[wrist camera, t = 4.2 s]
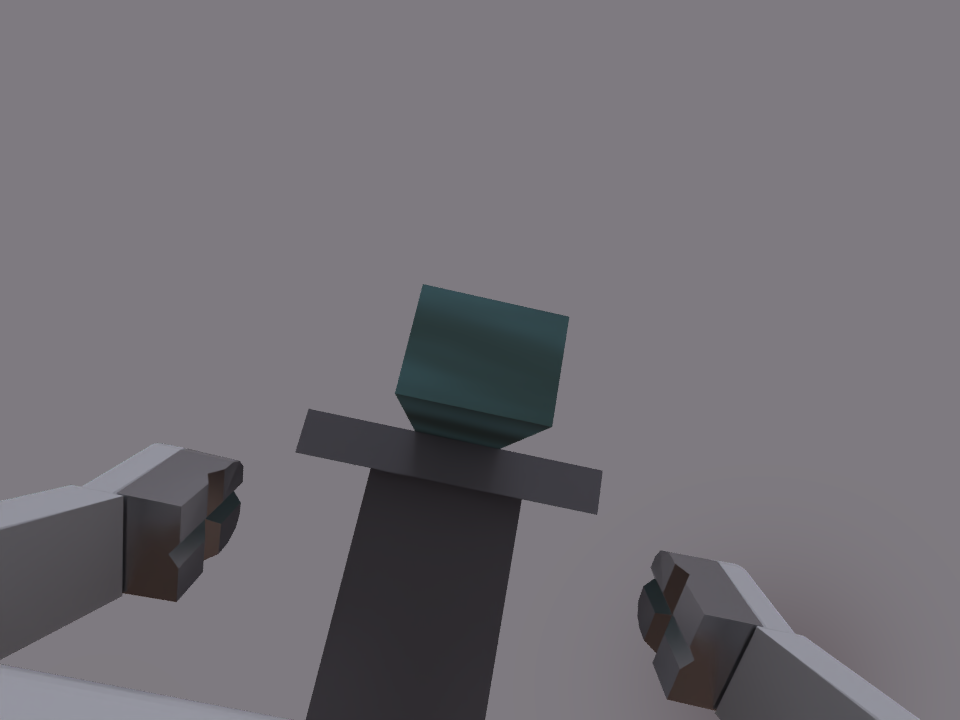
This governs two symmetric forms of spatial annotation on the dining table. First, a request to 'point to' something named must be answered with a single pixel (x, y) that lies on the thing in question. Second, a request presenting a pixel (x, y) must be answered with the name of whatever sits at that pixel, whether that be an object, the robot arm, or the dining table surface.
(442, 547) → the pedestal
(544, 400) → the teal block
